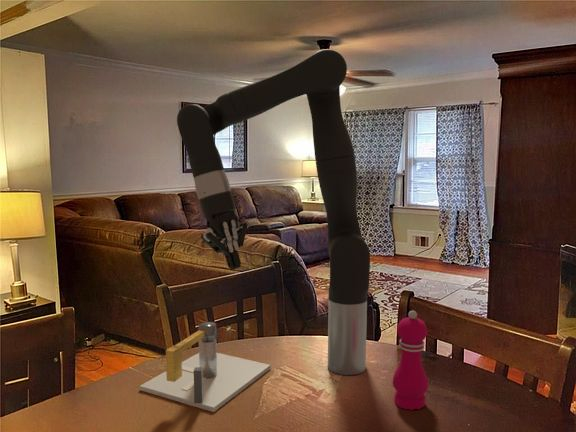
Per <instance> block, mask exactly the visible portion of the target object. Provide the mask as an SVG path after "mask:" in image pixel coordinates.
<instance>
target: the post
mask: <svg viewBox="0 0 576 432" xmlns="http://www.w3.org/2000/svg"><path fill="white" fill-rule="evenodd" d="M217 341H218V340H217V338H216V339H214V340H210V341H202V340H199V341H198V353H199V367H203V378H206V379H211V378H214V377H216V376H217V353H218V351H217V346H218V344H217Z"/></svg>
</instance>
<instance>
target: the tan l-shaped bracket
mask: <svg viewBox="0 0 576 432" xmlns="http://www.w3.org/2000/svg"><path fill="white" fill-rule="evenodd" d="M214 339H216V340H217V323H215V322H213V321H206V322H205V321H204V322H200V323H199V324H198V330H197V331H195V332H194V333H192V334H190V335H189V336H187V337H186V338H185V339H182V340H180V342H177V343H176V344H175V345H172V346H171V347H169V348H167V349H165V363H166V364H165V369H166V375H167V381H171V382H175V381H176V380H178V379H179V378H180V377H182V362H183V360H182V353H183V352H184V351H186V350H187V349H189V348H190V347H191V346H193V345H195V344H196V343H199V340H202V341H210V340H214Z"/></svg>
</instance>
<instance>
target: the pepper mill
mask: <svg viewBox="0 0 576 432" xmlns="http://www.w3.org/2000/svg"><path fill="white" fill-rule="evenodd" d="M407 316H408V317H404V318H403V319H400V321H399V322H398V325H397V328H396V329H397V330H396V331H397V335H398V337H399V338H400V339H399V344H398V347H399V348H400V350H401V357H400V361H399V364H398V366H397V367H396V369H395V371H394V374H393V376H392V386H393V388H394V390H395V392H394V401H393V402H394V403H395V404H396V405H397V406H398V407H399V408H401V409H403V408H404V410H407V409H409V410H408V411H415V410H414V409H419V410H421V409H420V408H422V407H423V406H424V405H425V406H426V395H425V393H426V392H427V391H428V389H429V380H428V376H427V374H426V371H425V369H424V367H423V364H422V351H423V350H425V342H424V340H425V339H426V337H427V336H428V328H427V325H426V323H425V321H424V320H422V319H420V318H419V317H418V313H417V312H416V311H415V310H410V311H409V312H408V315H407ZM425 406H424V407H425ZM424 407H423V408H424ZM423 408H422V409H423Z"/></svg>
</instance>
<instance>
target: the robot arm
mask: <svg viewBox="0 0 576 432" xmlns="http://www.w3.org/2000/svg"><path fill="white" fill-rule="evenodd" d="M347 65H348V64H347V61H346V60H345V58H344V57H343V55H342V54H341V53H339V52H338V51H336V50H334V49H325V48H324V49H320V50H318V51H316V52H314V53H312V54H311V55H310V56H309V57H307V58H306V59H304V60H302V61H300V62H298V63H297V64H295V65H294V66H291V67H290V68H288V69H285V70H284V71H281V72H279V73H277V74H275V75H272V76H269V77H266V78H263V79H260V80H258V81H255V82H252V83H250V84H247V85H244V86H241V87H239V88H236V89H234V90H232V91H229V92H226V93H224V94H222V95H220V96H218V98H217V99H216V100H215V101H214V102H212V103H209V104H207V105H205V106H200V105H199V104H196V103H189V104H185V105H184V106H183V107H181V108H180V110H179V111H178V113H177V117H176V124H177V129H178V132H179V134H180V137H181V140H182V143H183V146H184V147H185V151H186V154H187V157H188V161H189V166H190V169H191V174H192V177H193V182H194V186H195V187H194V188H195V192H196V196H197V198H198V202H199V203H198V204H199V206H200V210H201V213H202V216H203V218H204V219H205V220H206V225H205V226H206V230H205V232H204V233H202V234H201V235H200V238H201V240H202V241H203V242H205V244H207V245H208V246H209V248H211V249H212V250H213V251H214V252H215V253H216V254H223V255H224V257H225V260H226V264H227V265H226V266H227V267H228V268H229V269H230V270H231V271H233V270H234V271H235V270H237V269H239V268H241V266H242V265H241V263H242V261H241V257H240V254H239V250H240V249H239V248H241V247H243V246H244V243H245V240H246V234H247V230H248V224H247V222H241V220H240V221H239V217H238V216H237V214H236V211H235V210H236V209H237V207H236V202H235V199H234V195H233V192H232V188H231V185H230V181H229V178H228V177H227V174H226V172H225V168H224V164H223V160H222V158H221V153H220V152H219V149H218V148H217V145H216V142H215V137H214V135H216V134H218V133H221V131H223V130H224V131H225V129H227V128H228V127H231V126H233V125H237V124H240V123H242V122H244V121H248V120H250V119H252V118H255V117H256V116H259V115H261V114H263V113H266V112H268V111H270V110H271V109H274V108H275V107H277V106H280V105H281V104H284V103H285V102H286V103H287V102H288V101H291V100H293V99H295V98H298V97H302V96H304V95H306V97H307V98H306V99H307V102H308V106H309V111H310V116H311V125H312V137H313V139H312V140H313V150H314V161H315V166H316V173H317V180H318V184H319V189H320V193H321V197H322V201H323V204H324V209H325V213H326V220H327V221H326V222H327V235H328V236H327V237H328V240H327V241H328V243H327V244H328V245H327V247H328V248H327V249H328V257H329V265H330V266H329V286H328V310H327V312H328V313H327V314H328V318H327V319H328V320H327V321H328V322H327V328H328V329H327V369H329V371H331V372H332V373H335V374H338V375H341V376H343V375H345V376H354V375H359V374H361V373H364V372H365V371H366V361H367V360H366V359H367V357H366V355H367V322H368V321H367V319H368V314H367V313H368V312H367V311H368V292H369V288H370V275H371V274H370V270H371V268H370V267H371V253H370V248H369V246H368V243H366V241H365V240H364V239H363V235H362V232H361V228H360V223H359V218H358V212H357V195H358V194H357V193H358V176H357V175H358V173H357V172H358V171H357V163H356V157H355V156H356V155H355V151H354V146H353V142H352V138H351V136H350V133H349V130H348V129H347V125H346V124H345V120H344V118H343V114H342V113H343V112H342V108H341V107H342V105H341V94H340V92H341V90H340V86H342V84H343V83H344V81H345V79H346V77H347V72H348V66H347Z"/></svg>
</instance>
